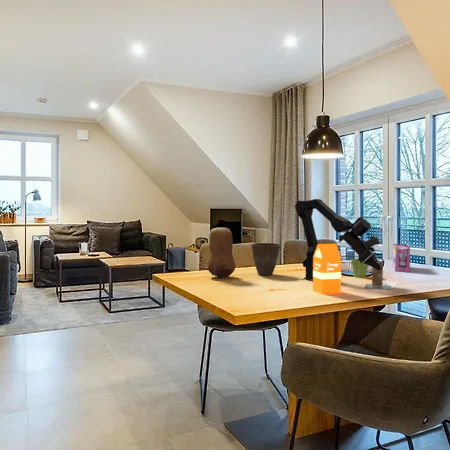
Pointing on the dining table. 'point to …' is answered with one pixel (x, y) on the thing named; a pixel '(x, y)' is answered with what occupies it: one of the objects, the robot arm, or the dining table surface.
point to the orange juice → (327, 269)
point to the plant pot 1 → (265, 257)
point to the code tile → (389, 284)
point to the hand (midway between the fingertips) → (380, 268)
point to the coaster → (377, 287)
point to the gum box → (401, 258)
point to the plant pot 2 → (359, 268)
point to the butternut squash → (221, 252)
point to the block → (377, 275)
